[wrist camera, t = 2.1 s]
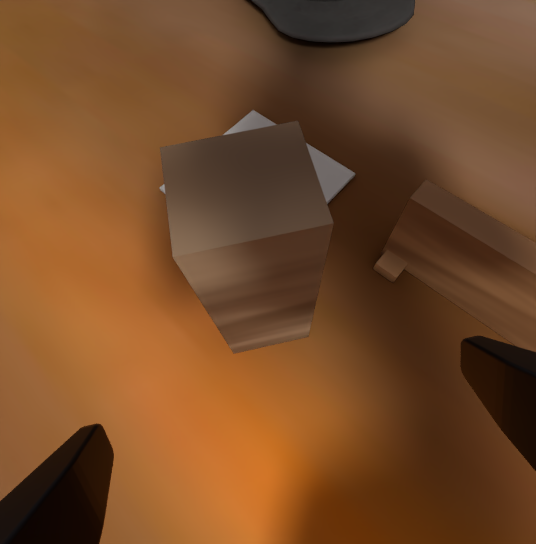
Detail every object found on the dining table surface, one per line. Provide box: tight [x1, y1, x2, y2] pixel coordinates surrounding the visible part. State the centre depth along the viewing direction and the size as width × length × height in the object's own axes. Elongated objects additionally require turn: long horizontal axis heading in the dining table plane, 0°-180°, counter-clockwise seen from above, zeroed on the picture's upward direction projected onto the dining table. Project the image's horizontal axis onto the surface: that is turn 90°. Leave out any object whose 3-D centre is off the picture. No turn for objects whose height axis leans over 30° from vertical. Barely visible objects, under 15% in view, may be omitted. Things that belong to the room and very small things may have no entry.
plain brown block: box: [160, 121, 334, 353], centre depth 16 cm, size 4×4×12 cm
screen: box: [373, 179, 536, 352], centre depth 19 cm, size 4×14×6 cm, turn 48°
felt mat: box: [160, 110, 355, 204], centre depth 26 cm, size 10×10×1 cm
